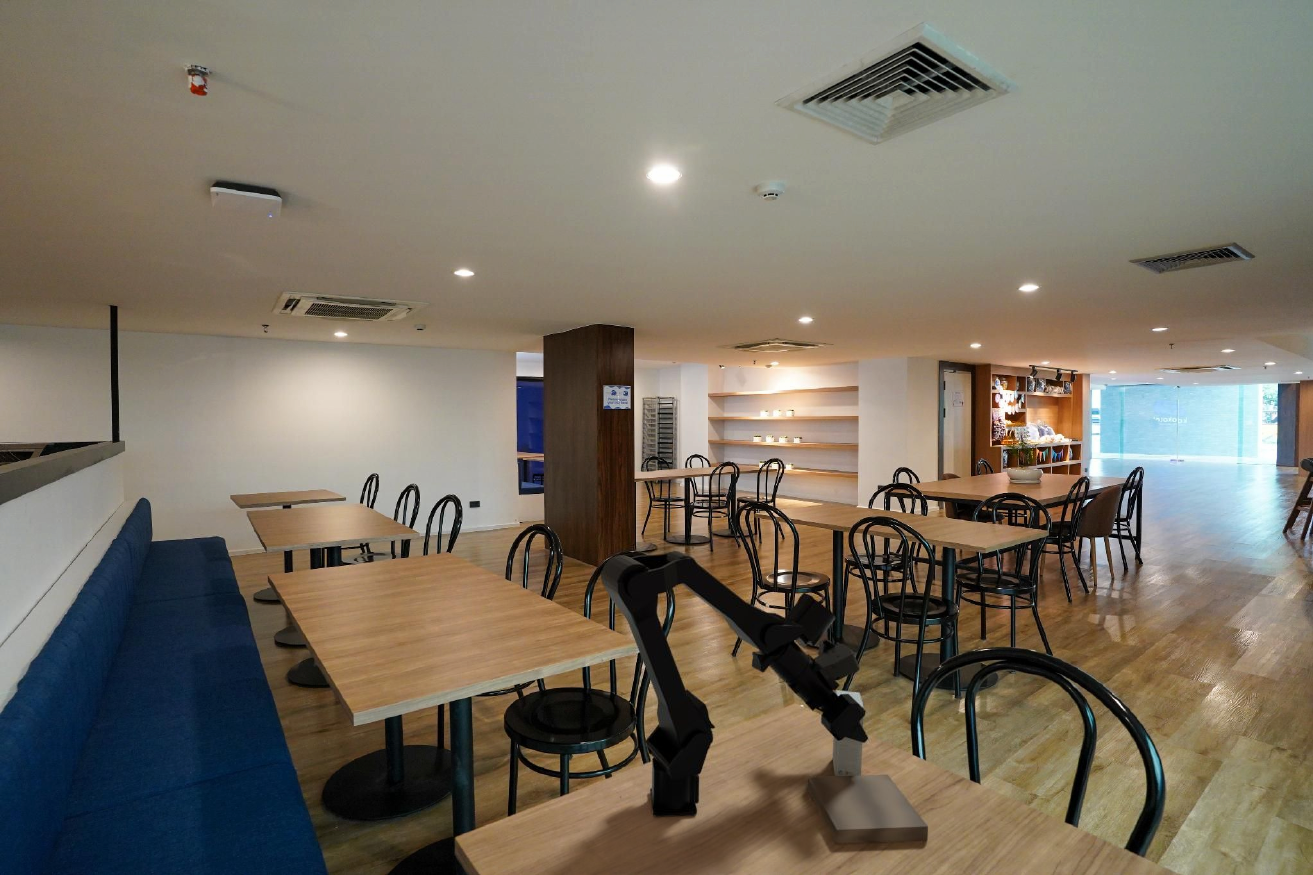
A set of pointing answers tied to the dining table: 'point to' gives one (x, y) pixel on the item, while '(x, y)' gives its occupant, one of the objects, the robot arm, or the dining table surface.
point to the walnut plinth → (866, 809)
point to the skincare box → (848, 748)
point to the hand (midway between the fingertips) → (855, 729)
